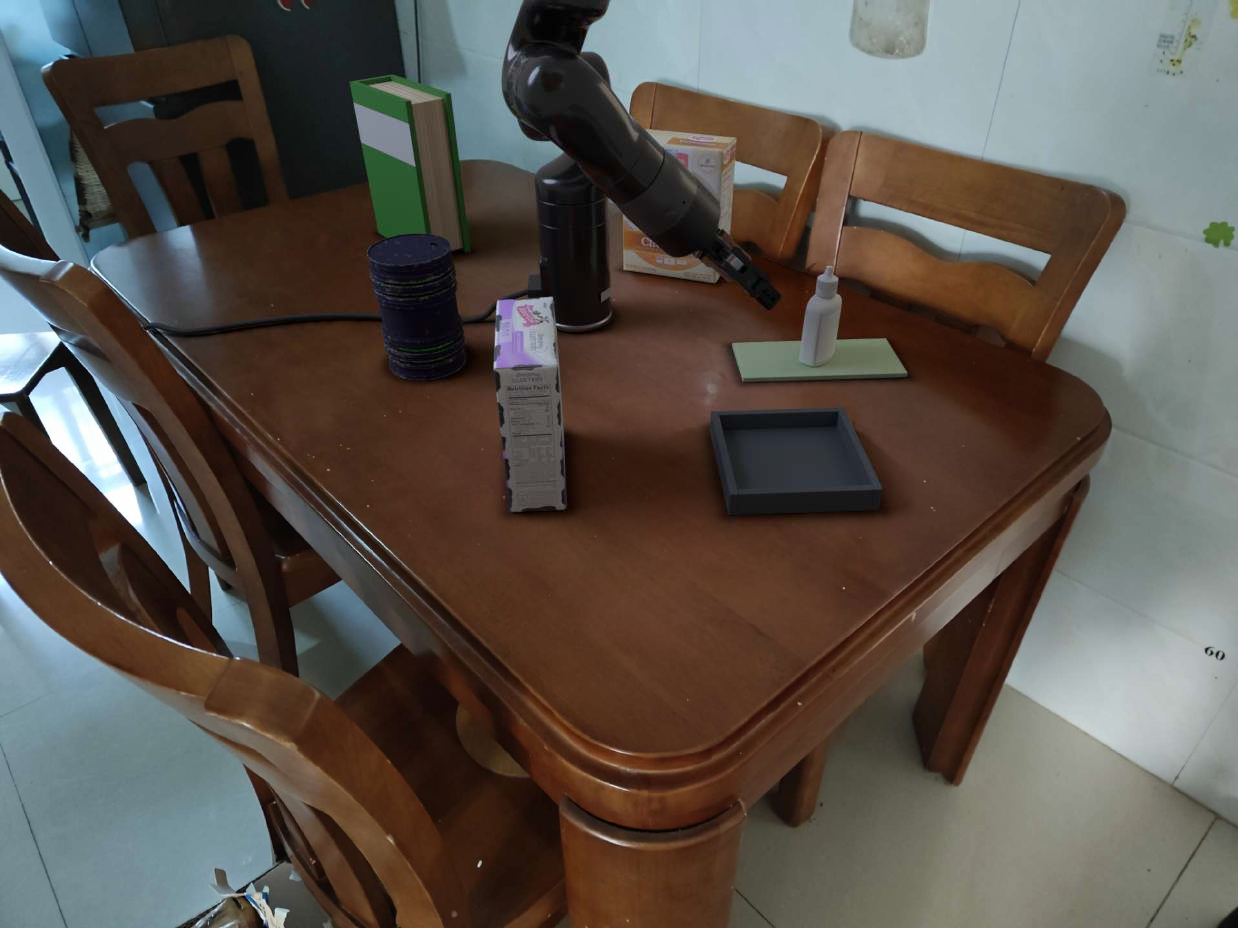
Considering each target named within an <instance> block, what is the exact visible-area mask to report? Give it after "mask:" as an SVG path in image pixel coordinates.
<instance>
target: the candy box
mask: <svg viewBox="0 0 1238 928" xmlns="http://www.w3.org/2000/svg"><path fill="white" fill-rule="evenodd" d="M496 301H497V309H496V310H495V311H496V312H495V330H494V351H493V376H494V385H495V393H496V403H497V409H498V410H497V411H498V421H499V422H498V423H499V428H500V437H501V446H502V447H501V448H502V455H503V463H504V473H505V481H506V487H507V488H506V489H507V490H506V491H507V499H508V507H509V513H524V512H543V511H544V512H545V511H546V512H548V511H565V509H566V508H567V506H568V505H567V485H566V484H567V483H566V481H567V480H566V479H567V478H566V453H565V432H564V431H565V430H564V412H563V396H562V381H561V369H560V367H561V366H560V353H559V343H558V341H559V340H558V330H557V329H556V320H555V310H554V301H553V297H545V298H528V297H526V298H517V299H512V300H500V299H498V300H496Z"/></svg>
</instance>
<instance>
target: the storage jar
mask: <svg viewBox="0 0 1238 928" xmlns="http://www.w3.org/2000/svg"><path fill="white" fill-rule="evenodd" d="M452 252H453V251H452V250H451V244H450V242H449V241H448V240H447V239H446V238H444V237H441V236H438V235H433V234H424V233H413V234H403V235H397V236H392V237H389V238H386V237H385V238H383V239H380V240H378V241H376V242H374V243H372V244H371V245H370V246H369V247H368V248H367V251H366V255H367V261H368V264H369V265H368V266H369V271H370V273H369V277H370V282H371V285H372V288H373V291H372V293H373V295H374V297H375V300H376V301H377V302H378V305H379V311H380V314H381V316H382V320H381V321H382V324H381V337H382V338H383V345H384V350H385V352H386V355H387V358H388V360H389V361H388V365H389V369H390V371H391V372H392V373H393V374H394V375H395V376H397V377H399V378H402V379H404V380H410V381H419V382H420V381H431V380H433V381H434V380H438V379H443V378H445V377H448V376H451V375H453V374H454V373H456V372H458V371H459V370H461V369H462V368H463V367H464V366H465V364H466V362H467V352H466V350H465V349H466V344H465V341H466V337H465V331H464V330H465V329H464V324H463V321H462V319H463V318H462V316H461V314H459V307H458V299H457V291H458V280H457V272H456V265H455V262H454V258H453V255H452Z"/></svg>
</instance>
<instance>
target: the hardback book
mask: <svg viewBox="0 0 1238 928" xmlns="http://www.w3.org/2000/svg"><path fill="white" fill-rule="evenodd" d="M349 86H350V91H351V96H352V102H353V107H354V112H355V113H354V114H355V117H356V123H357V129H358V132H359V133H358V134H359V140H360V143H361V144H360V145H361V148H362V154H363V160H364V164H365V170H366V175H367V181H368V185H369V186H368V187H369V190H370V197H371V202H372V206H373V211H374V217H375V221H376V222H375V223H376V228H377V233H378V234H379V235H381V236H383V237H385V238H389V237H392V236H397V235H403V234H413V233H424V234H433V235H438V236H441V237H444V238H446V239H447V240H448V241H449V242H450V244H451V250H452V252H453V251H457V250H460V251H462V252H464V253H465V254H467V253H470V252H471V251H472V249H471V243H470V235H469V228H468V219H467V212H466V202H465V196H464V188H463V179H462V171H461V163H460V156H459V148H458V140H457V139H458V138H457V132H456V123H455V114H454V108H453V107H454V106H453V100H452V99H453V98H452V92H449V91H445V90H442V89H439V88H436V87H433V86H429V85H426V84H424V83H420V82H417V81H414V80H411V79H408V78H405V77H402V76H399V75H395V74H387V75H382V76H376V77H370V78H365V79H364V78H363V79H358V80H357V79H356V80H352V81H351V80H350V81H349Z"/></svg>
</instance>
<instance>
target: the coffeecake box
mask: <svg viewBox="0 0 1238 928" xmlns="http://www.w3.org/2000/svg"><path fill="white" fill-rule="evenodd" d="M644 129H645V130H646V131H647V132H648V133H649V134H650V135H651V136H652V137H653V138H654V139H655V140H656V141H657V142H658V143H659V144H660V145H661V146H662V147H663V148H664V149H665V150H667V151H668V152H669V153H671V154H672V155H673V156H675V157H676V158H677V159H678V160H679V161H680V162H681V163H682V164H683V165H684V166H685V167H686V168H687V169H688V170H689V171H690V172H691V173H692V174H693V175H694V176H695V177H696V178H697V179H698V180H699V181H700V182H701V183H702V184H703V185H704V186H705V187H706V188H707V189H708V190H709V191H710V192H711V194H712V195H713V196H714V197H715V198H716V199H717V200H718V202H719V204H720V207H721V215H720V220H719V223H718V227H719V229H720V230H721V229H723V230H725V231H726V232H727V233H728V234H729V235H730V236H731V225H732V211H733V199H734V196H733V195H734V185H735V184H734V183H735V182H734V181H735V169H736V168H735V167H736V156H737V140H738V139H737V137H736V136H735V137H732V136H731V137H730V136H720V135H712V134H703V133H690V132H682V131H672V130H671V131H670V130H661V129H650V128H644ZM622 247H623V248H622V252H623V255H622V256H623V263H622V264H623V269H622V270H623V271H628V272H635V273H641V274H642V273H643V274H648V275H649V274H650V275H656V276H663V277H671V278H676V279H677V278H678V279H683V280H689V281H696V282H703V283H710V284H716V283H717V282H718V280H719V279H720V277H721V275H719V274H718V273H717V272H716V271H715V270H714V269H713V268H711V267H707V266H706V265H705V264H703V263H702V262H701V261H700V260H699V259H698V258H696V257H695V256H693V255H692V254H690V255H688V256H685V257H680V258H676V257H671V256H669V255H668V254H666V253H665V252H664V251H663V250H662V249H661V248H660V247H659V246H657V245H656V244H655V243H654V242H653V241H652V240H651V239H650V238H649V237H647V236H646V235H645V234H644V233H643V232H642V231H641V230H640V229H639V228H637V227H636V226H635V225H634V224H633V223H632V222H631V221H630V220H629V219H628V218H627V217H626V216H625V215H624V214H623V213H622Z"/></svg>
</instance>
